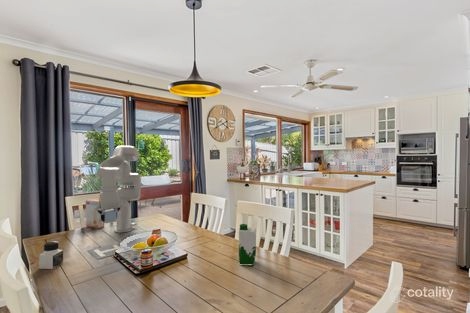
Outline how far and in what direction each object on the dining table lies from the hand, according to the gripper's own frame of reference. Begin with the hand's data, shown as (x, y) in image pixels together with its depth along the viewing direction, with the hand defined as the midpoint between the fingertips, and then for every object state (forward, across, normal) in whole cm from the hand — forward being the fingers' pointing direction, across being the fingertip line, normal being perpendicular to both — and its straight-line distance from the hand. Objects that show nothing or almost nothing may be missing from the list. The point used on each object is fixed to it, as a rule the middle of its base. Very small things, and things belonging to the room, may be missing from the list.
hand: (109, 219), depth 147 cm
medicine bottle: (+19, +28, 0) cm, 33 cm away
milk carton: (+19, -45, +68) cm, 84 cm away
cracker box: (+18, -10, -58) cm, 61 cm away
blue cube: (+1, 0, 0) cm, 1 cm away
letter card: (+18, 0, 0) cm, 18 cm away
